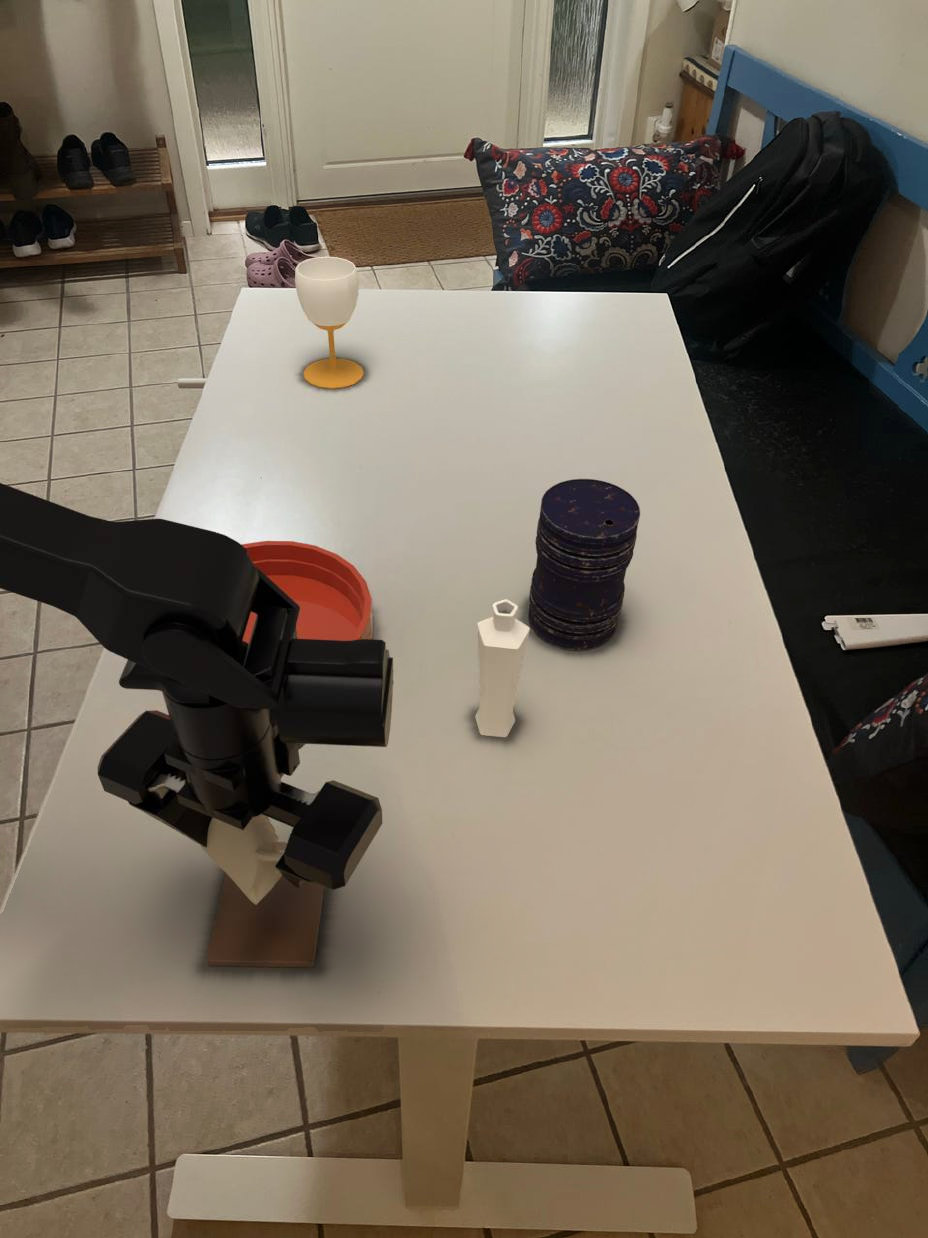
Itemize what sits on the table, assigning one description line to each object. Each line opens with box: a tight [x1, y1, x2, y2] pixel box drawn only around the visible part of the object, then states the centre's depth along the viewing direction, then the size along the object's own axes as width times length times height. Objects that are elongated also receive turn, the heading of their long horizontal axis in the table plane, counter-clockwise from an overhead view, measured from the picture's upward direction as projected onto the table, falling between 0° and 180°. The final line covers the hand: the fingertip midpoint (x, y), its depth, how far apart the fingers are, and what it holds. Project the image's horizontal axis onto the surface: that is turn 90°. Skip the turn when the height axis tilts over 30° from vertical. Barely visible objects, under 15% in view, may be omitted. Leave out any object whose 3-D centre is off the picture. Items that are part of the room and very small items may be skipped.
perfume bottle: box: [475, 598, 531, 738], centre depth 80 cm, size 5×4×15 cm
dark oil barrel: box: [527, 478, 641, 651], centre depth 91 cm, size 10×10×15 cm
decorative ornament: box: [200, 814, 288, 905], centre depth 63 cm, size 4×8×5 cm, turn 45°
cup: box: [294, 256, 365, 390], centre depth 129 cm, size 9×9×16 cm
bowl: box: [240, 540, 374, 644], centre depth 91 cm, size 21×21×4 cm
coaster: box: [205, 872, 325, 968], centre depth 70 cm, size 8×8×1 cm
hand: (254, 861), depth 64 cm, fingers closed on decorative ornament, 7 cm apart
